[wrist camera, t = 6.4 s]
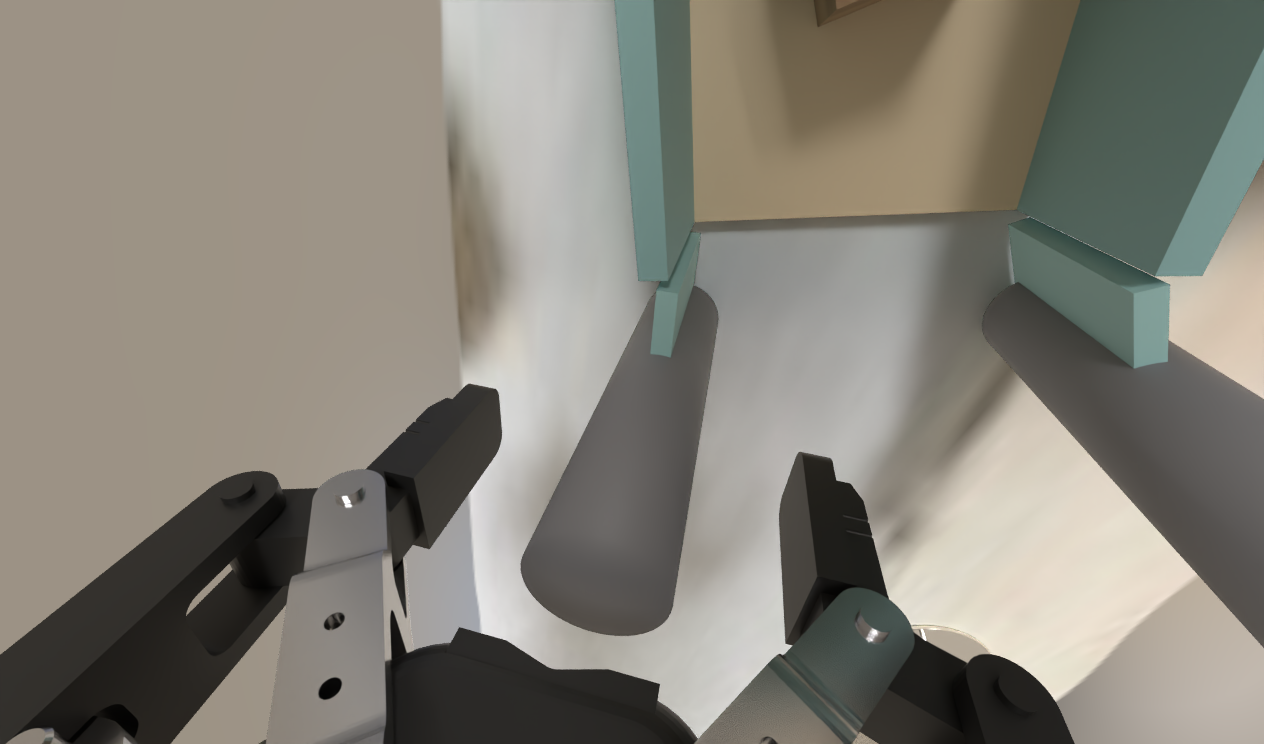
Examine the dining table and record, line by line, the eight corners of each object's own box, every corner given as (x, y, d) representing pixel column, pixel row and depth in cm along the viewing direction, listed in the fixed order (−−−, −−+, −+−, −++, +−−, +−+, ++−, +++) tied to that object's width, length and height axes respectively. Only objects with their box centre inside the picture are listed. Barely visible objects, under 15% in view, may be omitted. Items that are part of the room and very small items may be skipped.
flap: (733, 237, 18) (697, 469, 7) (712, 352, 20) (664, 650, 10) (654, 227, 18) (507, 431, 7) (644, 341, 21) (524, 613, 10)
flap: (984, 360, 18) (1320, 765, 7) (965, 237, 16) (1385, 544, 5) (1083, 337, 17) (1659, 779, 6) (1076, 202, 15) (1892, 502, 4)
